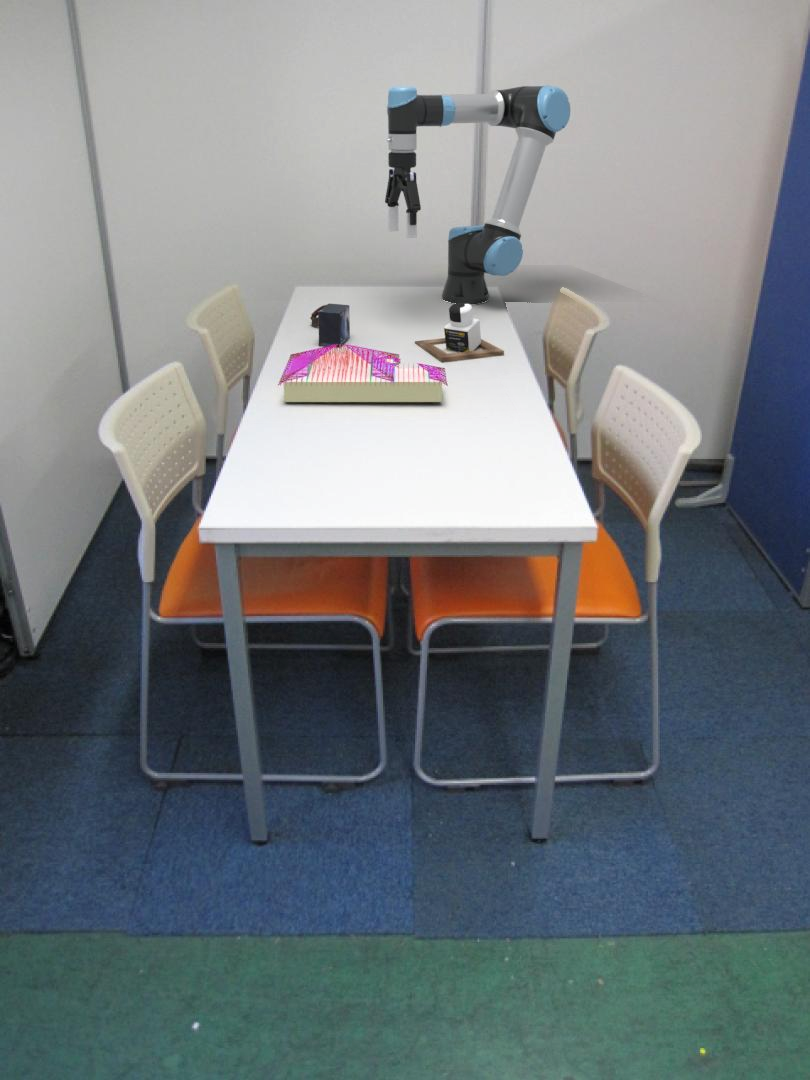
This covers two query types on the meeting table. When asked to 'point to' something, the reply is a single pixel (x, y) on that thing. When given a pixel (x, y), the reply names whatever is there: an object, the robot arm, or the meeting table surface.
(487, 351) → the brown square frame
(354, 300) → the meeting table surface
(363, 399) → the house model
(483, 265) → the robot arm
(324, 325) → the small box
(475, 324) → the medicine bottle
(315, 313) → the pottery mug
